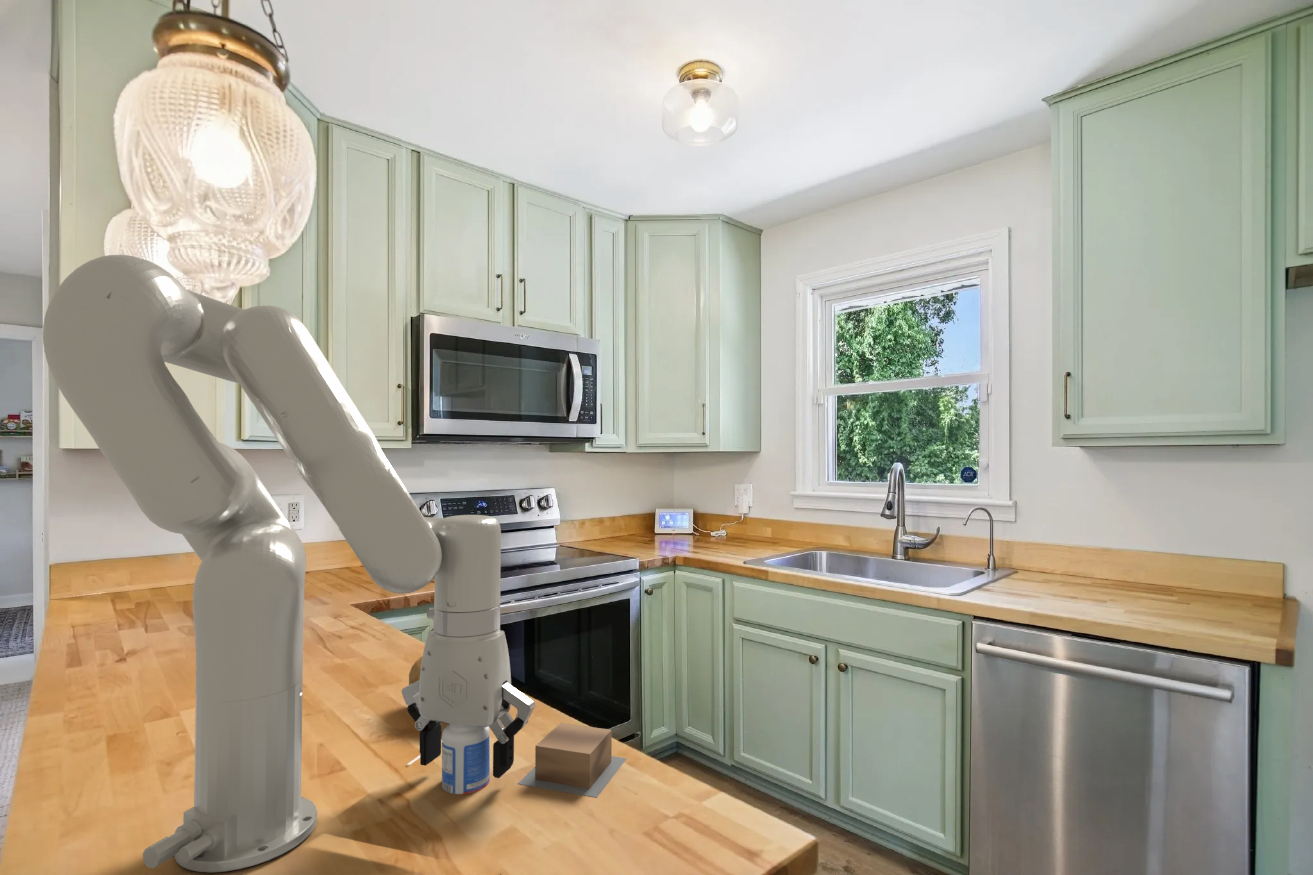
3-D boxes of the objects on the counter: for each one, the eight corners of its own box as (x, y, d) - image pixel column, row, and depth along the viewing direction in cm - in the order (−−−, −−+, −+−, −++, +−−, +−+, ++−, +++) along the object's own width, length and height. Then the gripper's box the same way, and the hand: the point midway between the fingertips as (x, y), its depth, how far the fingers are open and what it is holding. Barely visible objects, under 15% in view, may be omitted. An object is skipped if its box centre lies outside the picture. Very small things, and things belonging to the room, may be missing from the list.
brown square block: (589, 788, 78) (590, 753, 78) (535, 779, 80) (535, 745, 80) (611, 761, 85) (611, 729, 85) (560, 753, 87) (560, 722, 87)
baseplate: (596, 806, 76) (596, 797, 76) (517, 792, 79) (517, 783, 79) (626, 766, 86) (626, 758, 86) (554, 754, 89) (554, 747, 89)
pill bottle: (493, 779, 82) (494, 698, 82) (484, 802, 77) (484, 716, 77) (448, 779, 82) (449, 698, 82) (435, 802, 77) (436, 716, 77)
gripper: (384, 622, 79) (382, 770, 78) (517, 635, 74) (516, 793, 73) (424, 607, 86) (423, 743, 86) (548, 619, 81) (546, 762, 81)
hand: (466, 766), depth 80 cm, fingers open, 9 cm apart
